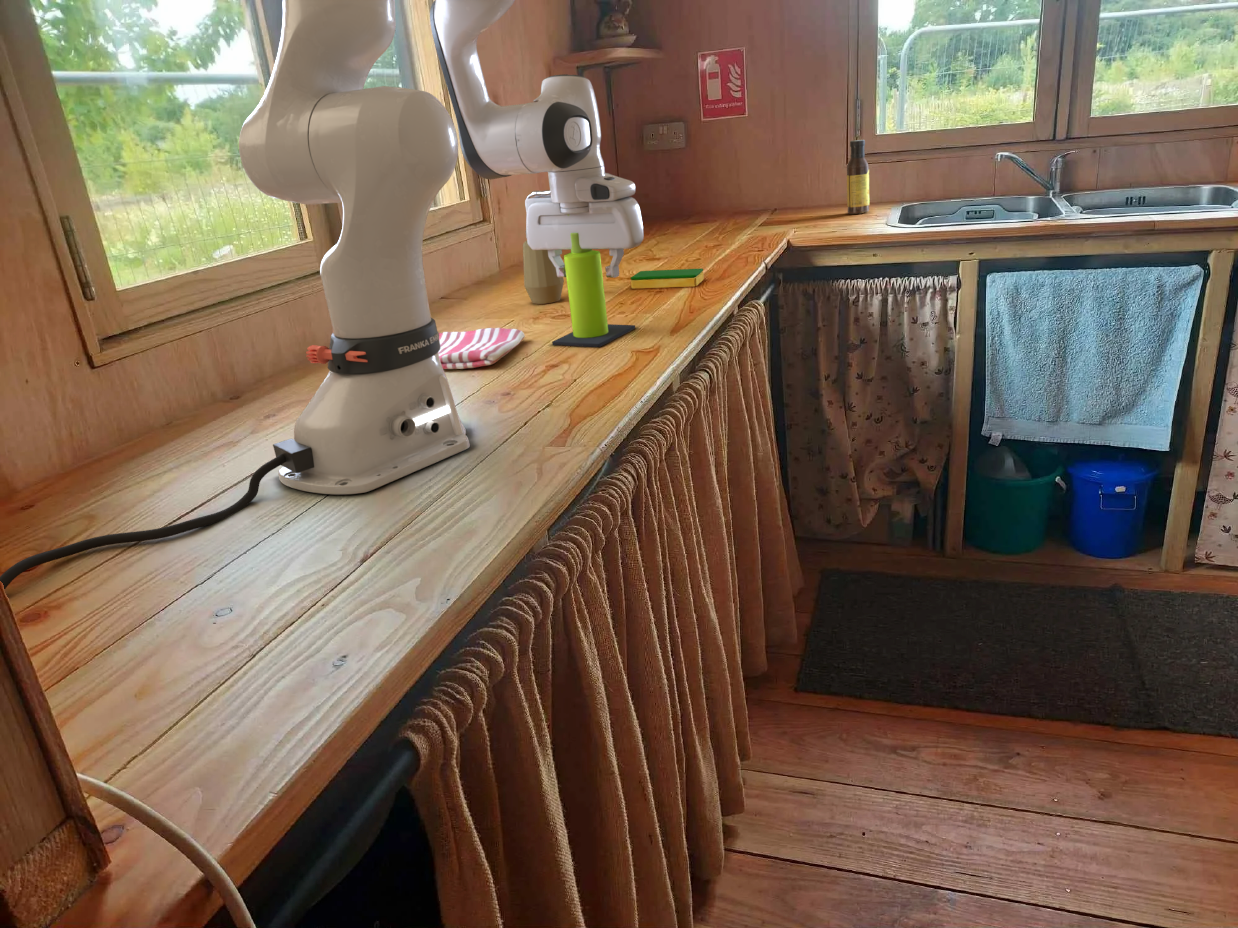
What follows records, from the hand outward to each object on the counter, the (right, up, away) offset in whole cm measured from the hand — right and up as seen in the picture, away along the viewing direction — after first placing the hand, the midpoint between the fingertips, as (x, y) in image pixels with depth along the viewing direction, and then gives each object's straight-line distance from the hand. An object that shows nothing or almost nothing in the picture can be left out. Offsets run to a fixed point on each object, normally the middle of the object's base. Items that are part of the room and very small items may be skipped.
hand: (587, 277), depth 141 cm
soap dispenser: (+1, -9, +3) cm, 10 cm away
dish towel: (-23, -13, +1) cm, 27 cm away
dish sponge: (+15, +7, +39) cm, 43 cm away
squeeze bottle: (-10, +2, +35) cm, 37 cm away
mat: (+1, -9, +4) cm, 10 cm away
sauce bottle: (+74, +42, +111) cm, 140 cm away
